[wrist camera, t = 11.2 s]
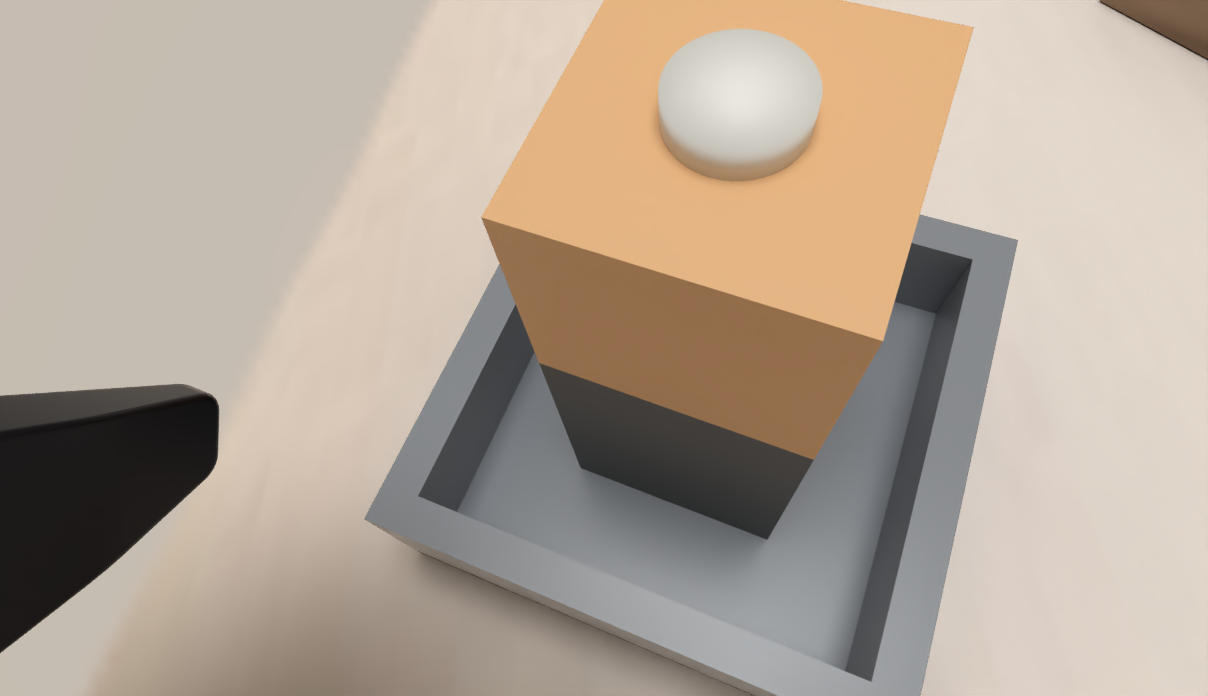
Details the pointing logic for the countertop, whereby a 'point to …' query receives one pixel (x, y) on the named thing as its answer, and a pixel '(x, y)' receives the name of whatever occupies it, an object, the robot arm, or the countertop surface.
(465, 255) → the countertop surface
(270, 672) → the countertop surface
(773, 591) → the bin
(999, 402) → the countertop surface
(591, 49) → the copper cell
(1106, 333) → the countertop surface
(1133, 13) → the wooden tray
